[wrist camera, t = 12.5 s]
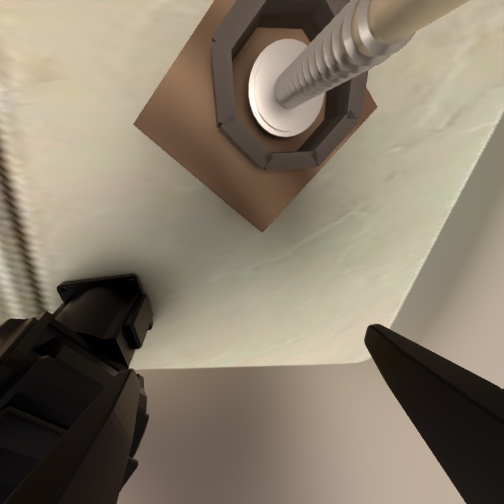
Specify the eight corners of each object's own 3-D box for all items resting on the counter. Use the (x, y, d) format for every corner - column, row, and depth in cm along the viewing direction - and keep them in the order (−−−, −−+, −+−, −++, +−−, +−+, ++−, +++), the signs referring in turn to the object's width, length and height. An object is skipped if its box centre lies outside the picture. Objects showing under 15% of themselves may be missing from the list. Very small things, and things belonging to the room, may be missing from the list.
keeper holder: (259, 228, 20) (271, 246, 16) (138, 126, 15) (115, 118, 11) (367, 109, 17) (410, 98, 14) (263, -62, 12) (286, -154, 9)
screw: (259, 150, 16) (231, 74, 14) (318, 120, 16) (299, 39, 14) (392, 146, 4) (349, -328, 2) (610, 40, 4) (795, -574, 2)
